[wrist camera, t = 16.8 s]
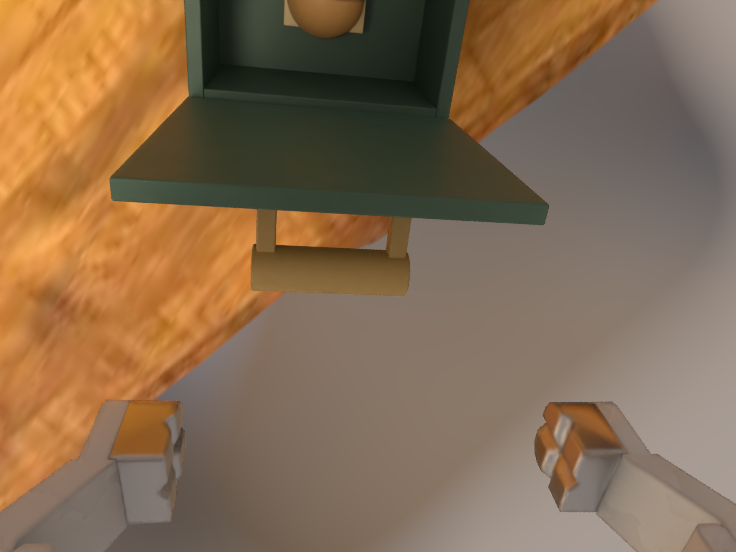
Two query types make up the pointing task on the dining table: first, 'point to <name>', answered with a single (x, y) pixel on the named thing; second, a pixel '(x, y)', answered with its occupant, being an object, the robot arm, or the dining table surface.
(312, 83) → the bread bin
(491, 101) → the dining table surface
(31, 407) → the dining table surface
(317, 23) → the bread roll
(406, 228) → the lid
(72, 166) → the dining table surface
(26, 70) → the dining table surface
